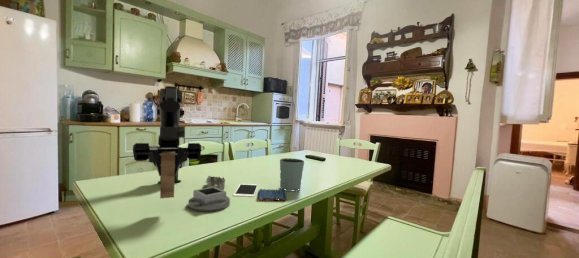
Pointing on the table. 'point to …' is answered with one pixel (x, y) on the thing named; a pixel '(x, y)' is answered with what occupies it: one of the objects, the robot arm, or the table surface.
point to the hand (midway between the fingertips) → (167, 175)
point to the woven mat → (271, 194)
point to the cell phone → (246, 190)
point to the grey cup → (291, 173)
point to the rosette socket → (209, 200)
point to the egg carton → (215, 182)
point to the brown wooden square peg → (167, 174)
